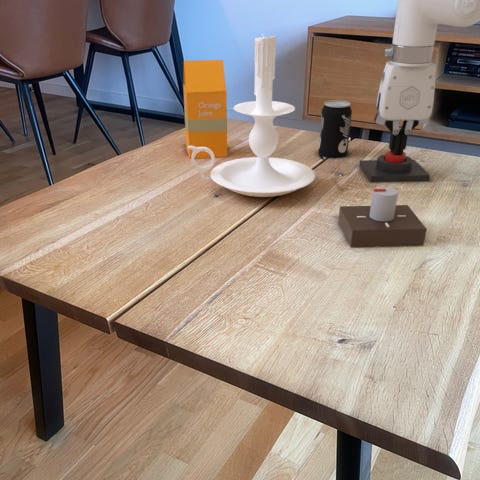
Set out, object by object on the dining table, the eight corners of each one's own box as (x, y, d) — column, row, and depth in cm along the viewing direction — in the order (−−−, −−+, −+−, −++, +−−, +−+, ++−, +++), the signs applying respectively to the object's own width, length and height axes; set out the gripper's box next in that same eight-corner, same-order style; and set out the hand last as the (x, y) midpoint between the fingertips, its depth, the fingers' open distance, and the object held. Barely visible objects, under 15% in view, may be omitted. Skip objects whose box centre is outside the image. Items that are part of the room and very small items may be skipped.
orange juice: (186, 148, 133) (181, 57, 122) (222, 146, 134) (221, 56, 123) (189, 159, 127) (185, 64, 116) (227, 156, 128) (226, 62, 117)
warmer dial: (390, 211, 94) (394, 184, 91) (396, 221, 91) (401, 193, 88) (366, 212, 94) (370, 184, 91) (372, 221, 90) (376, 193, 88)
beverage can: (330, 163, 124) (336, 108, 117) (312, 156, 129) (316, 102, 122) (352, 158, 127) (359, 104, 120) (333, 151, 132) (338, 98, 125)
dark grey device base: (412, 169, 121) (415, 151, 119) (427, 185, 113) (431, 166, 111) (358, 170, 121) (360, 152, 118) (369, 186, 112) (372, 167, 110)
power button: (401, 158, 117) (402, 149, 116) (407, 164, 113) (408, 155, 112) (382, 158, 116) (383, 150, 115) (387, 164, 113) (389, 156, 112)
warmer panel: (404, 220, 98) (407, 203, 97) (423, 245, 90) (427, 227, 88) (338, 222, 98) (339, 205, 96) (350, 247, 89) (352, 229, 88)
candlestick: (192, 172, 119) (185, 26, 104) (306, 171, 120) (317, 25, 104) (187, 209, 102) (178, 41, 87) (320, 208, 103) (335, 40, 87)
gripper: (377, 59, 100) (364, 159, 110) (458, 57, 101) (438, 158, 111) (366, 52, 106) (356, 148, 117) (443, 51, 107) (426, 146, 117)
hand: (396, 152), depth 114 cm, fingers closed
